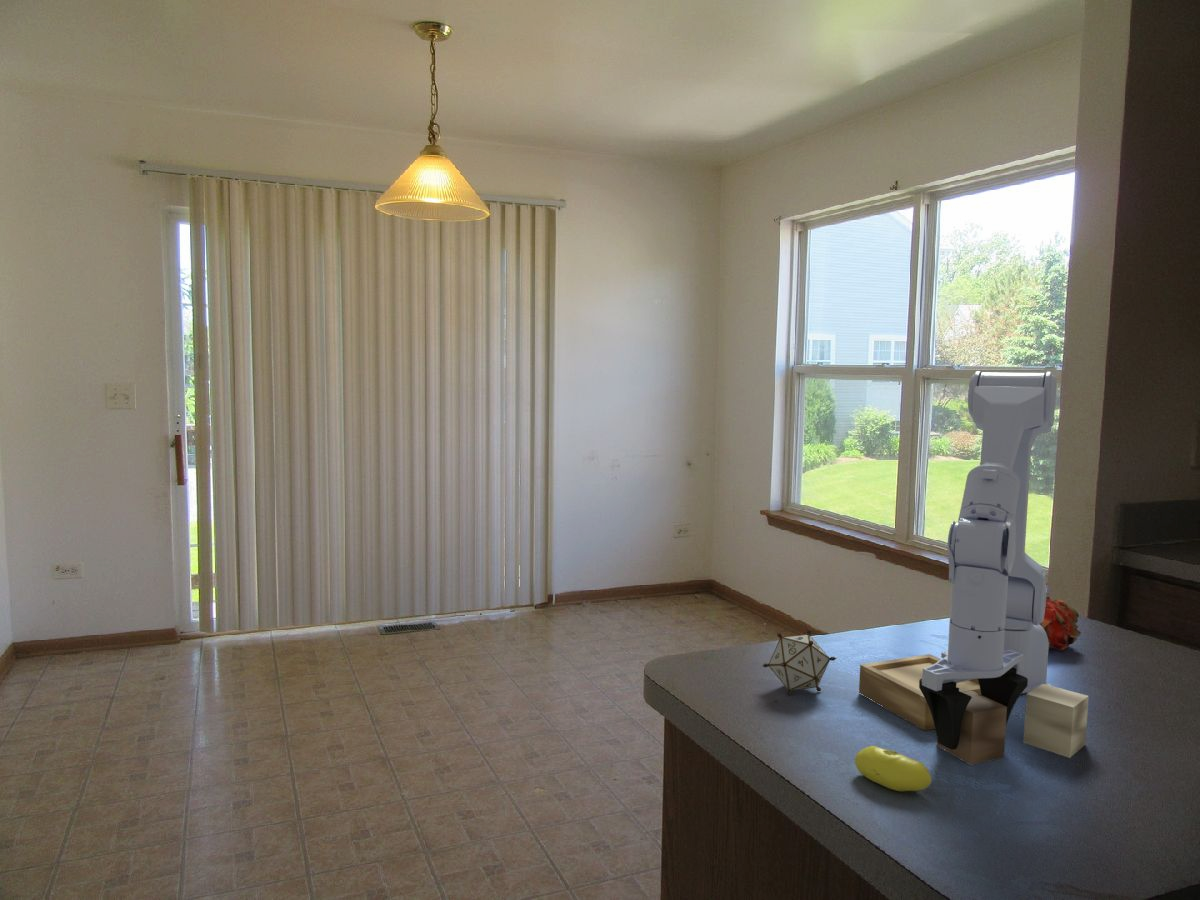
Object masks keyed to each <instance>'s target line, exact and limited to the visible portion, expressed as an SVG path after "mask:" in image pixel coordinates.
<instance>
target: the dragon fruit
mask: <svg viewBox="0 0 1200 900" xmlns="http://www.w3.org/2000/svg"><path fill="white" fill-rule="evenodd" d="M1079 615H1080V614H1079V613H1078V611H1077V610H1076V609H1075V608H1072V607H1070V606H1069V605H1068V603H1067V602H1066V601H1065V600H1063V599H1055V600H1052V599H1051V598H1050V597H1049V596H1046V605H1045V614H1044V620H1043V622H1042V623H1040V625H1041V626H1042V627H1043V629H1044V630H1045V632H1046V634H1047V637H1048V642H1049V648H1048V650H1050V649H1053V648H1054V649H1055V650H1057V651H1063V650H1065V649H1066V648H1068V647H1070V646H1071V645H1073V644H1074V643H1075V642H1076V641H1077V640H1078V637H1080V636H1081V633H1082V632H1081V631H1080V630H1078V628H1079V625H1078V624H1077V623H1078V621H1079V620H1078V618H1079V617H1080V616H1079Z"/></svg>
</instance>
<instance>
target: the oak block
mask: <svg viewBox="0 0 1200 900" xmlns="http://www.w3.org/2000/svg"><path fill="white" fill-rule="evenodd" d="M941 659H942V658H939V657H938V656H935V655H933V654H931V653H928V654H923V655H915V656H909V657H902V658H896V659H887V660H881V661H877V662H875V661H874V662H868V663H861V664H859V666H860V667H859V681H858V682H859V683H858V684H859V685H858V686H859V687H858V694H859V693H861V694H863V695H864V696H866V697H868V698H870V699H872V700H873V701H875V702H876V703H878V704H880V705H882V706H883V707H884V708H883V707H882V708H883V709H885V708H886V709H885V710H887V709H888V710H890V711H892V712H893V713H892V712H891V713H892V714H894V713H895V714H897V715H899V716H900V717H899V716H898V717H899V718H901V717H902V718H901V719H903V718H904V719H906V720H907V722H908V721H909V722H908V723H910V722H911V723H910V724H912V723H913V724H915V725H916V726H915V725H914V726H915V727H917V726H918V727H917V728H919V727H920V728H921V729H920V728H919V729H920V730H922V729H923V730H922V731H924V730H926V731H930V730H929V729H931V730H935V726H934V721H933V718H932V714H931V711H930V708H929V706H928V703H927V701H926V699H925V697H924V695H923V693H922V692H921V690H920V688H919V680H920V679H921V678H922V671H923V668H927V667H930V666H932V665H934V664H935V663H937V662H938V661H940V660H941ZM956 688H959V691H960V692H967V691H974V692H976V693H978V694H980V695H981V691H980V685H979V681H978V679H973V680H968V681H964V682H960V683H956ZM876 703H875V704H876ZM878 704H877V705H878ZM888 710H887V711H888ZM890 711H889V712H890ZM895 714H894V715H895ZM897 715H896V716H897ZM904 719H903V720H904ZM906 720H905V721H906ZM913 724H912V725H913Z"/></svg>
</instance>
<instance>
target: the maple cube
mask: <svg viewBox="0 0 1200 900" xmlns="http://www.w3.org/2000/svg"><path fill="white" fill-rule="evenodd" d="M1025 695H1026V697H1025V713H1024V728H1023V742H1022V743H1023V744H1027V745H1030V746H1032V747H1035V748H1039V749H1042V750H1044V751H1048V752H1050V751H1051V753H1053V752H1054V753H1053V754H1056V755H1060V756H1062V757H1066V758H1069V759H1071V758H1072V757H1073V756H1074V755H1075V754H1076V753H1077V752H1079V751H1080V750H1081V749H1082V748H1083V747H1085V746H1086V740H1087V739H1086V738H1087V736H1086V735H1087V724H1088V723H1087V722H1088V712H1089V696H1090V695H1087V694H1082V693H1079V692H1075V691H1072V690H1068V689H1064V688H1062V687H1061V688H1060V687H1057V686H1053V685H1052V686H1050V685H1047V684H1041V685H1040V686H1038V687H1037V688H1035V689H1033V690H1032V691H1030V692H1028V693H1026V694H1025ZM1078 750H1079V751H1078Z"/></svg>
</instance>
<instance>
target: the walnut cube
mask: <svg viewBox="0 0 1200 900" xmlns="http://www.w3.org/2000/svg"><path fill="white" fill-rule="evenodd" d="M962 693H965V694H967V695H969V696H971V697H972V698H971V700H970V702H969V703H968V705H967V707H966V710H965V713H964V715H963V719H962V723H961V731H960V738H959V743H958V746H957V749H954V750H951V749H949V748H947V747H945V746H943V745H941V744H939V743H938V740H937V739H936V746H937V747H938V746H939V747H938V748H940V747H941V748H940V749H942V748H943V749H945V750H946V751H945V750H944V751H945V752H947V751H948V752H947V753H949V754H950V753H951V755H952V754H953V755H952V756H954V757H955V758H957V757H958V759H959V758H960V759H959V760H961V759H962V760H961V761H963V762H964V761H965V763H966V764H968V765H969V764H970V765H969V766H972V765H971V764H973V765H975V764H976V763H977V764H981V763H980V762H982V763H985V761H986V762H990V761H989V760H991V761H994V759H995V760H1000V759H1003V758H1005V745H1006V743H1005V742H1006V730H1007V729H1006V728H1007V724H1006V715H1007V707H1006V706H1004V705H1002V704H1000V703H997V702H995V701H993V700H991V699H989V698H987V697H985V696H982V695H980V694H978V693H976V692H974V691H967V692H962ZM943 749H942V750H943ZM999 758H1000V759H999Z"/></svg>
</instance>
